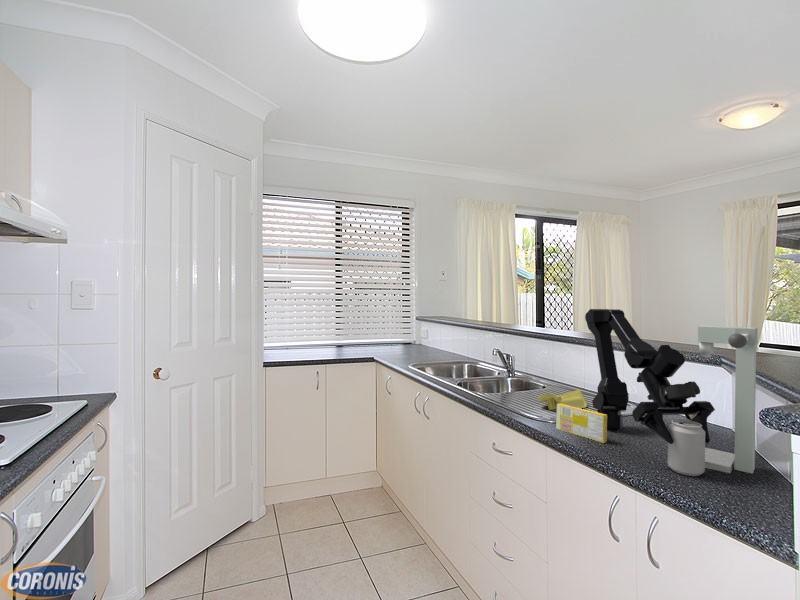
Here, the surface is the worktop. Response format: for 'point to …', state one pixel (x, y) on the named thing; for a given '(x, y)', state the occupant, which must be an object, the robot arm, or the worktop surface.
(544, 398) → the plastic component
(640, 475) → the worktop surface
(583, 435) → the candy box
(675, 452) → the can
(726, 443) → the worktop surface
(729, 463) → the plate
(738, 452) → the press frame
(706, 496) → the worktop surface
